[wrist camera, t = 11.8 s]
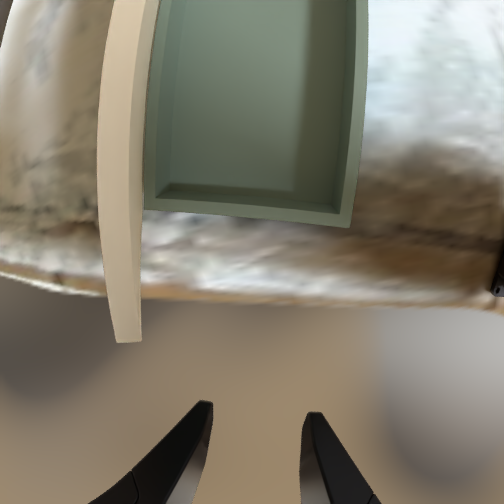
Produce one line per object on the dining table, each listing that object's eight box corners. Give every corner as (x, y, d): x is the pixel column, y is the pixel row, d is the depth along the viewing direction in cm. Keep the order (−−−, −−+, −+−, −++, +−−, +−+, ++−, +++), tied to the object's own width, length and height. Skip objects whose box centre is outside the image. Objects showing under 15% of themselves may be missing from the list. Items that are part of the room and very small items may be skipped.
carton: (350, -69, 9) (359, -91, 6) (337, 214, 16) (349, 228, 14) (197, -77, 9) (188, -99, 7) (163, 198, 17) (144, 209, 14)
